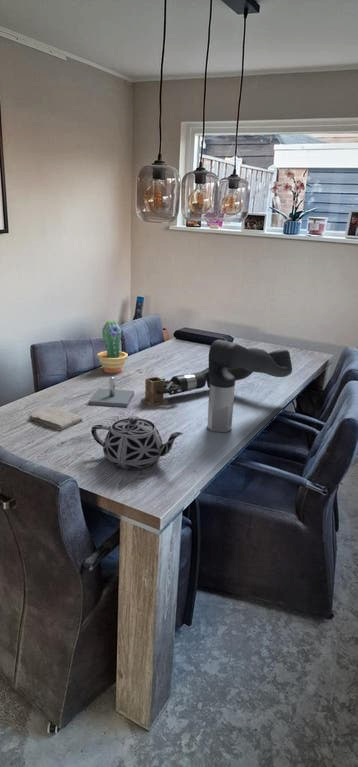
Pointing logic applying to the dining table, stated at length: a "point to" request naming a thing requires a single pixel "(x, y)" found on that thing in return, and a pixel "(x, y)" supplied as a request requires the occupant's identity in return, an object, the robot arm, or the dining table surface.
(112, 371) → the potted cactus
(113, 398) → the post plate
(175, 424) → the dining table surface
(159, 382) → the flanged sleeve
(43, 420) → the washcloth
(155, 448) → the teapot
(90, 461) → the dining table surface
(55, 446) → the dining table surface
